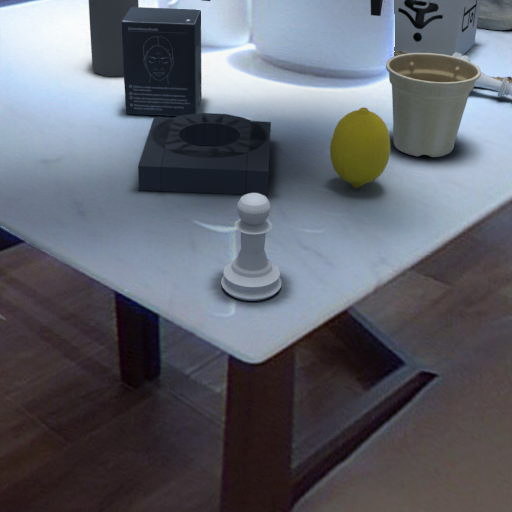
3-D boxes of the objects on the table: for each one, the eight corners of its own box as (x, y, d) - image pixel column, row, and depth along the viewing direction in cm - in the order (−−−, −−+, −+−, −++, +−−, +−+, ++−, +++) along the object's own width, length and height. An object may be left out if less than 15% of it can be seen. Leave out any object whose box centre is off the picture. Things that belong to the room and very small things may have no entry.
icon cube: (485, -30, 126) (474, 44, 131) (412, -40, 130) (404, 32, 135) (463, -13, 118) (452, 65, 123) (387, -25, 122) (379, 52, 127)
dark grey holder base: (138, 190, 89) (138, 165, 88) (156, 133, 101) (155, 110, 100) (267, 195, 89) (268, 171, 88) (270, 137, 101) (271, 115, 100)
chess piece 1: (286, 300, 73) (291, 207, 69) (224, 303, 73) (226, 210, 69) (275, 268, 77) (280, 179, 73) (217, 271, 77) (219, 181, 73)
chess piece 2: (442, 93, 116) (522, 120, 113) (441, 77, 112) (524, 105, 109) (455, 61, 116) (535, 87, 114) (456, 45, 112) (539, 71, 109)
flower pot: (394, 122, 105) (403, 46, 101) (478, 140, 102) (491, 61, 98) (364, 153, 98) (372, 72, 94) (454, 172, 95) (466, 89, 90)
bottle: (83, 67, 118) (75, -58, 110) (121, 58, 121) (117, -64, 114) (110, 80, 114) (104, -49, 107) (150, 70, 118) (146, -55, 110)
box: (201, 100, 109) (202, 8, 104) (195, 118, 105) (195, 23, 99) (133, 96, 110) (130, 4, 105) (124, 114, 105) (120, 19, 100)
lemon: (350, 205, 88) (358, 123, 84) (315, 182, 92) (321, 103, 88) (397, 192, 90) (407, 112, 86) (361, 170, 94) (369, 93, 90)
